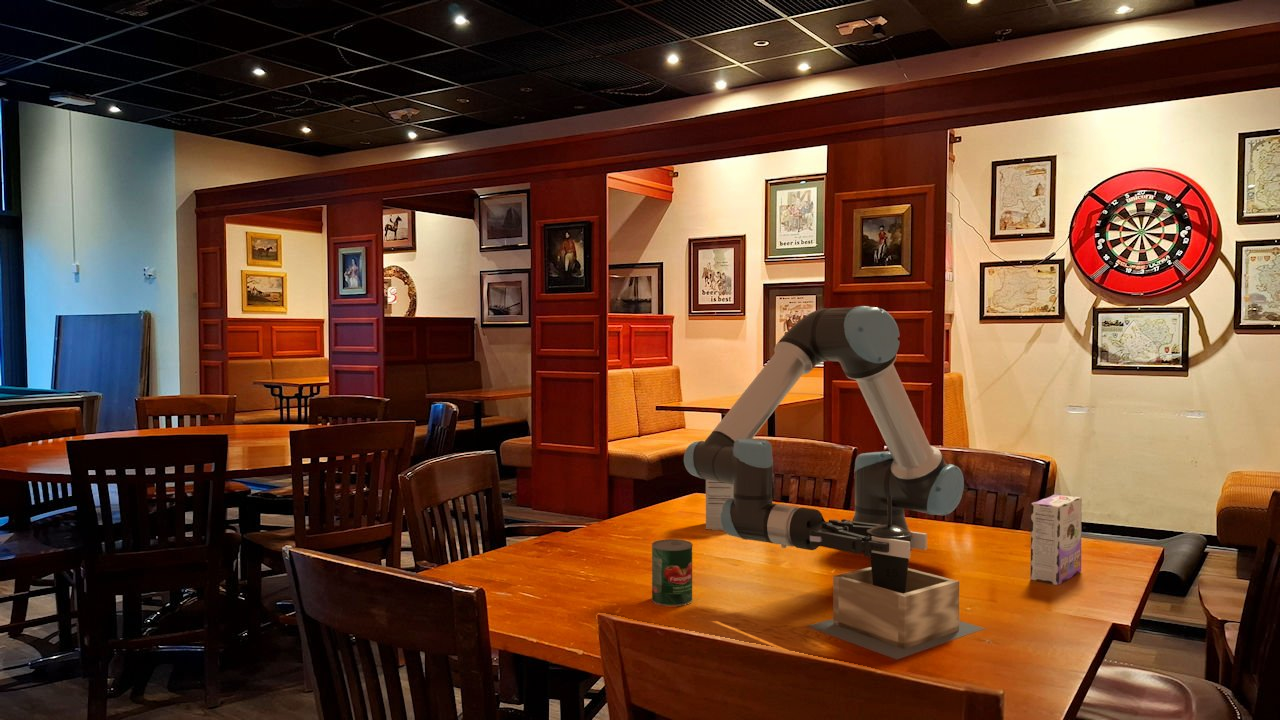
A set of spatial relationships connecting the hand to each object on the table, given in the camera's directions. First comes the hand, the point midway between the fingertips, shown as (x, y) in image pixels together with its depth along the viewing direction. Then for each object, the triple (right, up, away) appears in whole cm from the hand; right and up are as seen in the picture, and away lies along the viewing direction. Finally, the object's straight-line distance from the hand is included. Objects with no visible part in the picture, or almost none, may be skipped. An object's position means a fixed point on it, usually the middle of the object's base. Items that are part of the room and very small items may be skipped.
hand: (917, 545), depth 144 cm
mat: (-3, -15, +3) cm, 16 cm away
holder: (-3, -15, +3) cm, 15 cm away
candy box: (+41, -15, +36) cm, 56 cm away
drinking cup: (-4, -12, +3) cm, 13 cm away
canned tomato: (-41, -15, +20) cm, 48 cm away
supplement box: (-25, -14, +85) cm, 89 cm away
